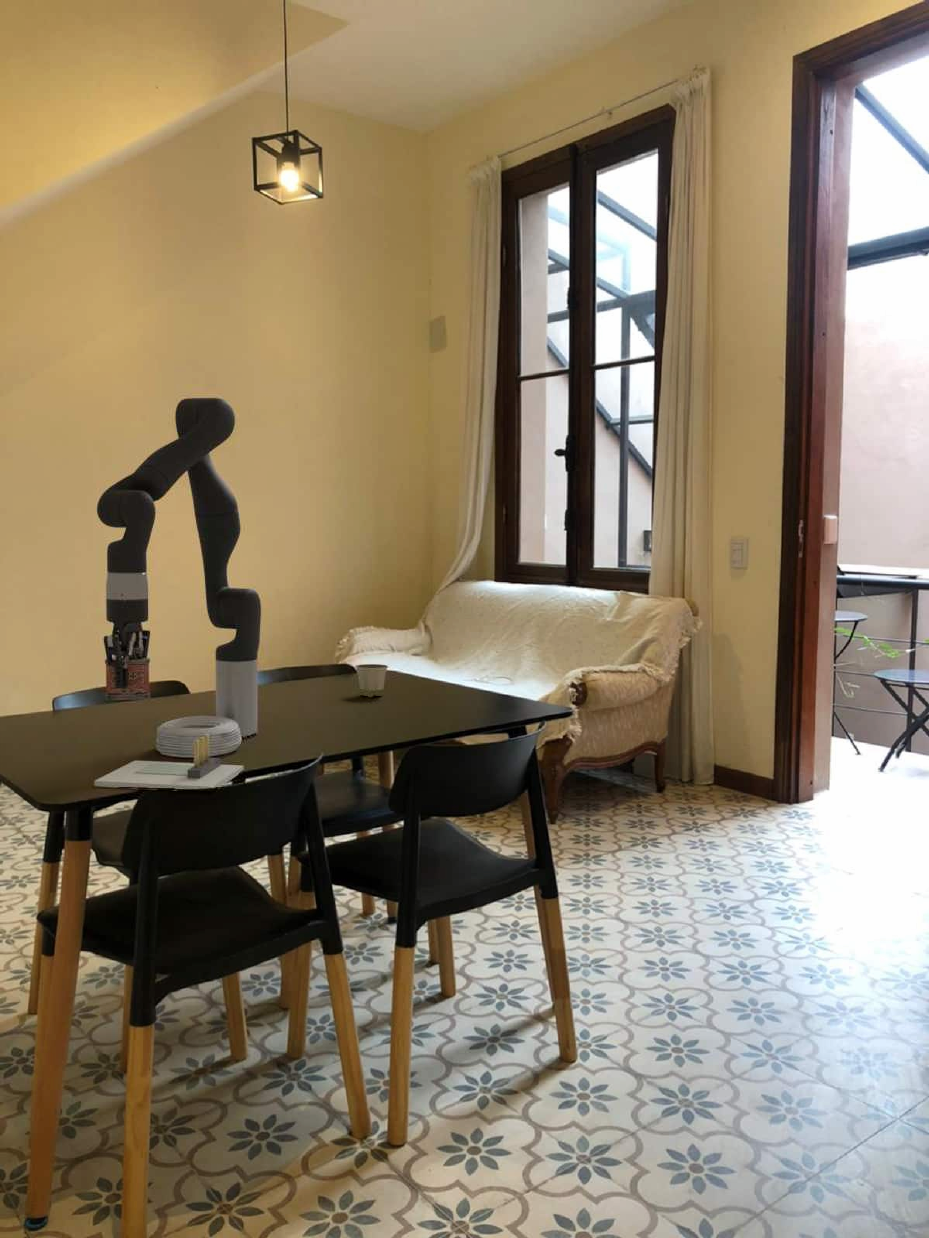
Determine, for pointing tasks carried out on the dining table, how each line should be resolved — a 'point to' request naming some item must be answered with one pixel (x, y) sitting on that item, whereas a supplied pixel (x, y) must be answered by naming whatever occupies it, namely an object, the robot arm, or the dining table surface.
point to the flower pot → (371, 676)
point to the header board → (174, 772)
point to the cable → (198, 735)
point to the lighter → (130, 679)
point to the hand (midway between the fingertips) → (128, 685)
